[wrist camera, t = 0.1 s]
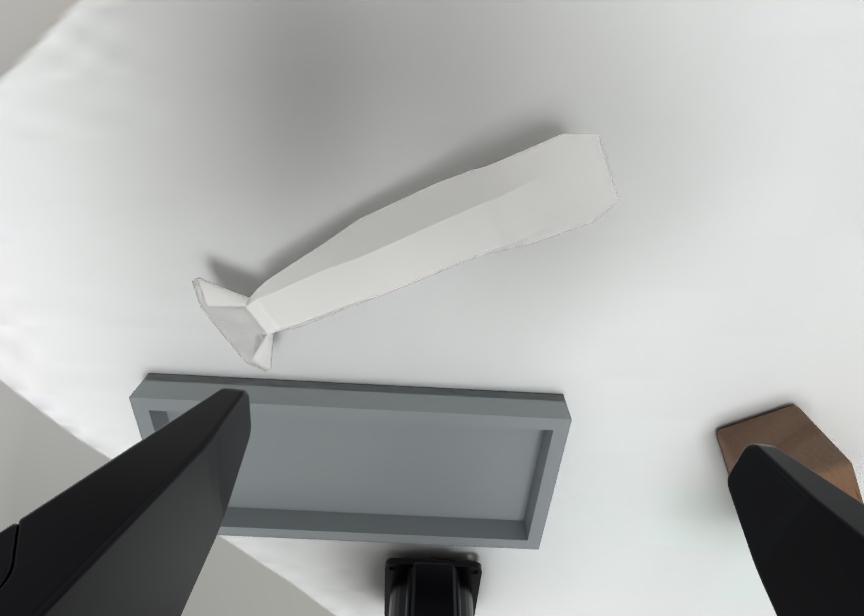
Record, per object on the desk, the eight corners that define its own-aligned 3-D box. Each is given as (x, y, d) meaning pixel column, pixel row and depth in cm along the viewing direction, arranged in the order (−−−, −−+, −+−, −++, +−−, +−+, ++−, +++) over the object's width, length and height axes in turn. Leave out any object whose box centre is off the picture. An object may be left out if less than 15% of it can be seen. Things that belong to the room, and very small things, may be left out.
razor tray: (533, 521, 33) (538, 549, 31) (185, 505, 32) (171, 532, 30) (563, 394, 27) (571, 419, 26) (148, 373, 27) (128, 397, 25)
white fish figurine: (604, 204, 22) (635, 237, 19) (271, 350, 26) (246, 399, 23) (564, 84, 20) (591, 97, 16) (204, 265, 24) (165, 305, 20)
